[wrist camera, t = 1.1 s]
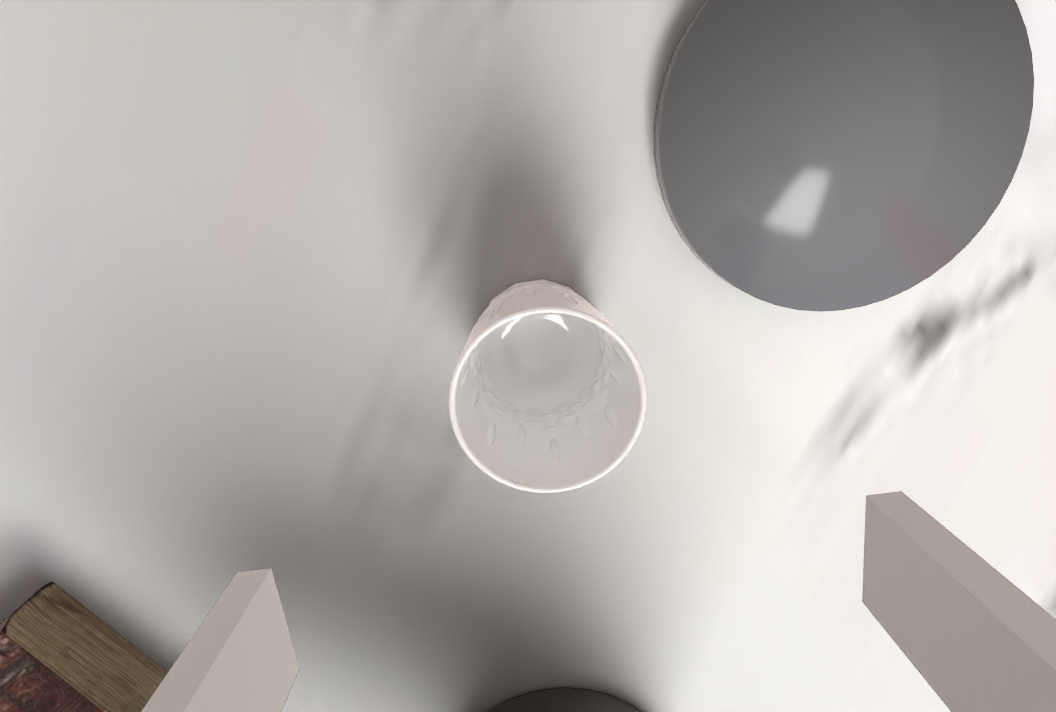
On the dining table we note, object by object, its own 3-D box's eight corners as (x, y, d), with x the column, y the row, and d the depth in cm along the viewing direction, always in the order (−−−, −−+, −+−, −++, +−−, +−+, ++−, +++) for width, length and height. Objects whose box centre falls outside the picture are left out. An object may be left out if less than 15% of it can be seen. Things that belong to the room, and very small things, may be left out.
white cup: (558, 238, 33) (577, 265, 23) (635, 357, 35) (683, 427, 25) (437, 321, 34) (407, 380, 24) (519, 431, 36) (522, 526, 26)
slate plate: (992, 284, 34) (1014, 288, 33) (664, 324, 34) (671, 330, 33) (1027, -98, 29) (1054, -113, 28) (642, -49, 29) (648, -60, 28)
